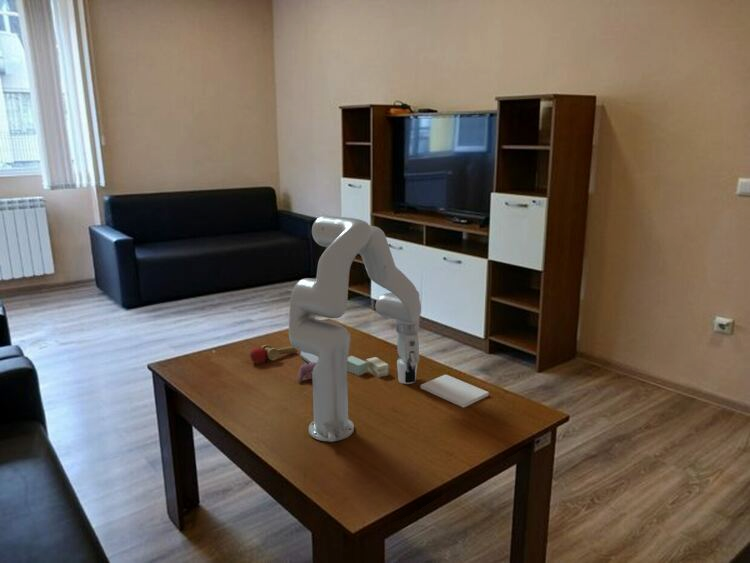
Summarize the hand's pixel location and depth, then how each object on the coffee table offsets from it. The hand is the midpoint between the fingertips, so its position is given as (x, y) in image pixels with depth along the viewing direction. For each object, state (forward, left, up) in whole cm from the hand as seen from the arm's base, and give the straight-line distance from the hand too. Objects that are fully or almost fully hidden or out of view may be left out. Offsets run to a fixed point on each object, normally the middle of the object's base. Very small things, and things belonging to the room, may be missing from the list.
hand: (407, 377), depth 195 cm
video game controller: (+8, +30, -1) cm, 31 cm away
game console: (+24, +26, -2) cm, 35 cm away
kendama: (+30, +41, -2) cm, 51 cm away
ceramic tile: (-12, -12, -1) cm, 17 cm away
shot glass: (0, 0, -1) cm, 1 cm away
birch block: (+9, +8, -1) cm, 12 cm away
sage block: (+12, +15, -1) cm, 19 cm away
